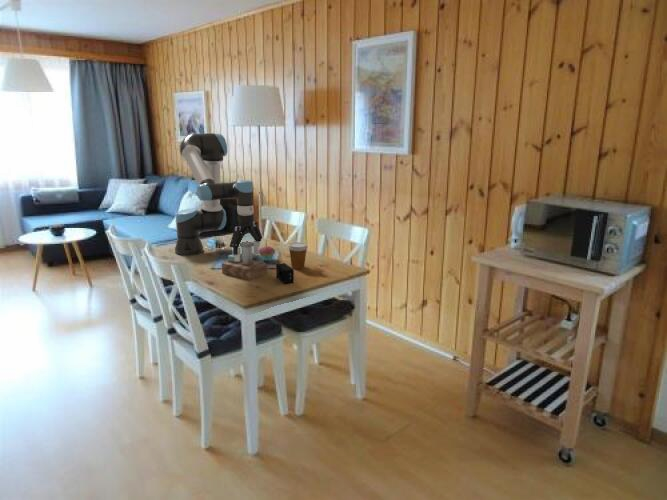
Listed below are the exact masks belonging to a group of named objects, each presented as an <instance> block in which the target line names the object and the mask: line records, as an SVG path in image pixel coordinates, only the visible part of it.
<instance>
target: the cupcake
mask: <svg viewBox="0 0 667 500" xmlns="http://www.w3.org/2000/svg"><path fill="white" fill-rule="evenodd" d="M275 253H276V250H275V248H273V247H271V246H268V240H267V239H265V246H263V247H261V248H259V255H260V256H261V259H262V261H264V260H266V261H265V262H268V261H267V260H271V259H272V260H273V257H274V255H275ZM272 260H271V261H272Z"/></svg>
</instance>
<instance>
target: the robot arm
mask: <svg viewBox="0 0 667 500" xmlns="http://www.w3.org/2000/svg"><path fill="white" fill-rule="evenodd" d="M179 152H180V155H181V158H182V159H183V161H185V162H186V163H187V165H188V167H189V170H191V171H190V172H191V173H192V175H193V177H194V179H195V182H196V183H197V186H196V194H197V198H198V200H199V201H202V202H203V205H201V207H200V210H198V209H197V208H186V209H182V210H179V211H177V212H176V213H175V224H176V225H175V226H176V227H175V228H176V242H175V243H176V244H175V247H174V253H175V254H177V255H180V256H181V255H182V256H189V255H190V256H191V255H192V256H193V255H198V254H201V253H203V252H204V246H203V242H202V240H201V238H200V233H203V232H210V231H211V232H212V231H218V230H219V231H220V230H223V229H224V228H225V226H226V224H227V213H226V210H225V209H224V208H223V206H222V205H221V200H231V199H232V200H233V199H236V207H237V208H236V211H237V222H238V226H236V225H235V226H234V227H233V231H232V236H231V241H230V244H229V247H230V248H233V251H232V252H233V254H234V259H235V261H238V262H239V261H240V248H238V247H239V244H240V242H241V240H242V238H243V237H246V235H247V234H249V235H250V236H251V238H252V239H254V240H253V243H254V246H253V254H254V255H260V254H259V250H260V242H261V241H262V239H263V235H262V233H261V230H260V228H259V225H258V222H257V221H255V214H254V210H255V209H254V208H255V207H254V184H253V183H254V182H253V181H252V180H250V179H241V180H240V179H239V180H237V181H236V180H235V181H229V182H221V163H222V162H223V161H224V157H225V156H227V154H228V144H227V140H226V139H225V137H224V135H223V134H221V133H215V132H213V133H205V132H204V133H191V134H188V135H187V136H185V137H184V138H183V140H182V141H181V143H180V146H179Z"/></svg>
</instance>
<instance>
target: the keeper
mask: <svg viewBox="0 0 667 500" xmlns="http://www.w3.org/2000/svg"><path fill="white" fill-rule="evenodd" d="M227 259H228V260H229V261H233V262H238V261H235V259H234V253H232V254H229V255H227ZM241 260H242V255H240V261H241Z"/></svg>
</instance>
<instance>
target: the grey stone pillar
mask: <svg viewBox="0 0 667 500" xmlns="http://www.w3.org/2000/svg"><path fill="white" fill-rule="evenodd" d="M240 246H241V247H242V255H241V256H242V260H243V265H246V266H249V265H252V260H253V249H252V247H254V241H253V242H248V241H246V242H242V243H240Z"/></svg>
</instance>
